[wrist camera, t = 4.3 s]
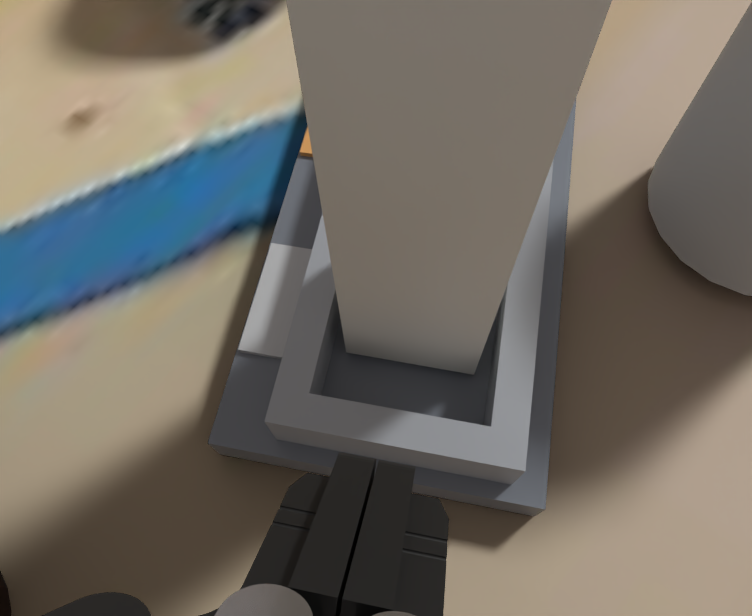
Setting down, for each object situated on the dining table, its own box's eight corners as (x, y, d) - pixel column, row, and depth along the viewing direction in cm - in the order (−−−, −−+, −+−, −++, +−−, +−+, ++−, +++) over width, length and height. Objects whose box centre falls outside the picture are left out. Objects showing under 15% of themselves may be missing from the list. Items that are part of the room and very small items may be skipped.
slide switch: (534, 516, 19) (563, 498, 16) (219, 454, 20) (187, 425, 17) (571, 65, 27) (595, -7, 24) (345, 37, 28) (340, -35, 25)
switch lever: (479, 381, 19) (699, -161, 5) (338, 357, 19) (224, -202, 6) (492, 284, 20) (691, -334, 7) (360, 263, 21) (309, -356, 7)
